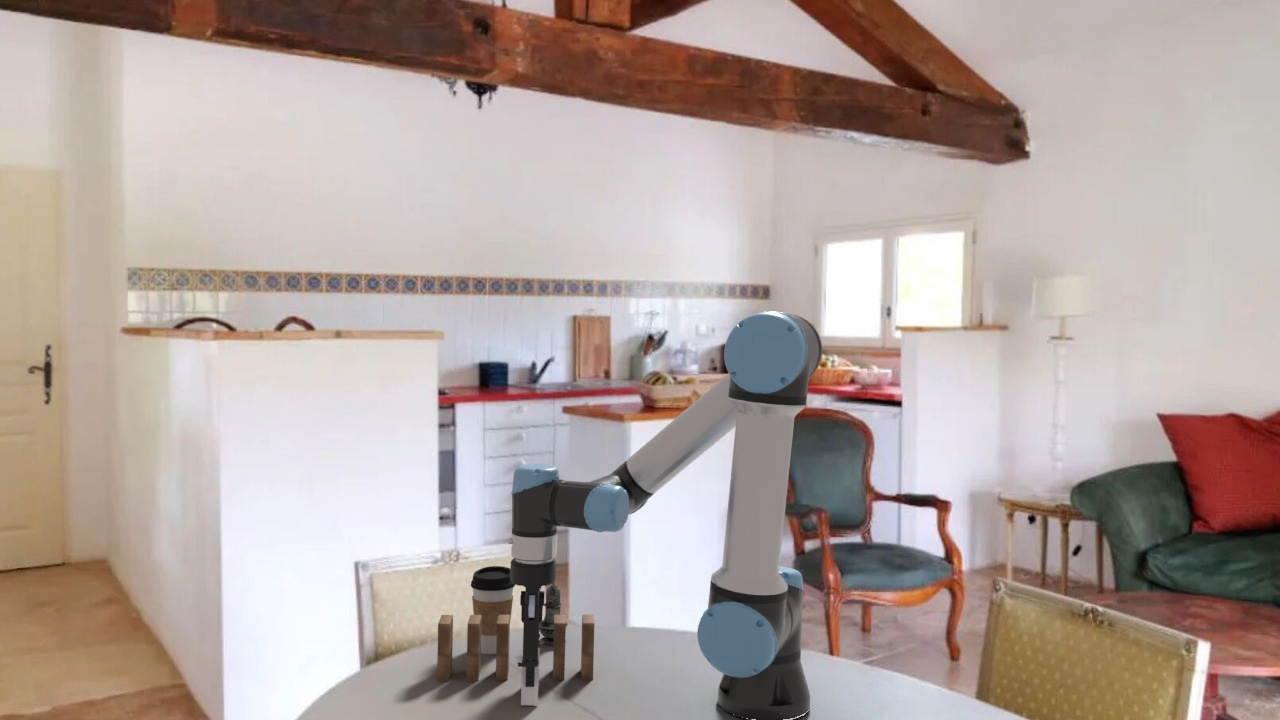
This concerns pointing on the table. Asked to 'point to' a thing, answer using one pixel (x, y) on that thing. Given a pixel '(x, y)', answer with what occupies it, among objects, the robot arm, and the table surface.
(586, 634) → the domino
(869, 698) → the table surface
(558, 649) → the domino
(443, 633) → the domino
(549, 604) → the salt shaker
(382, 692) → the table surface
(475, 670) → the domino
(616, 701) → the table surface
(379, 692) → the table surface
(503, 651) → the domino
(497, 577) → the coffee cup
